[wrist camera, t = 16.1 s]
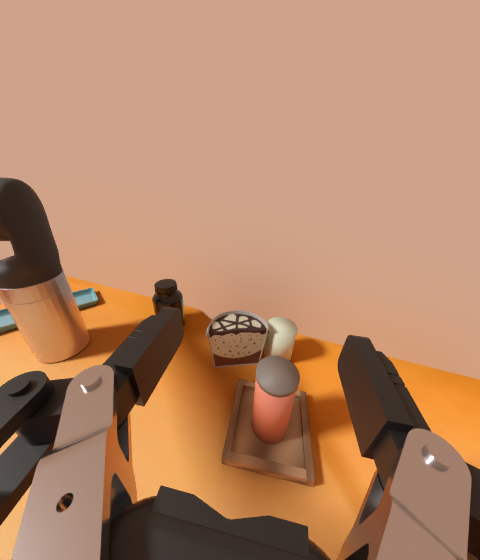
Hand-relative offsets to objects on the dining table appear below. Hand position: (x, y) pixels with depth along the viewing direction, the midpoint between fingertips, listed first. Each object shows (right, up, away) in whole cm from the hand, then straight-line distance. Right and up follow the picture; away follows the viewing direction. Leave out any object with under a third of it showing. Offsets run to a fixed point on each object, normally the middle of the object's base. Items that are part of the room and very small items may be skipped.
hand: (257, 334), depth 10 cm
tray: (+4, -20, +22) cm, 31 cm away
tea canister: (+4, -20, +22) cm, 30 cm away
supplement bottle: (-18, -9, +43) cm, 47 cm away
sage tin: (+7, -14, +35) cm, 39 cm away
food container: (-2, -14, +35) cm, 38 cm away
